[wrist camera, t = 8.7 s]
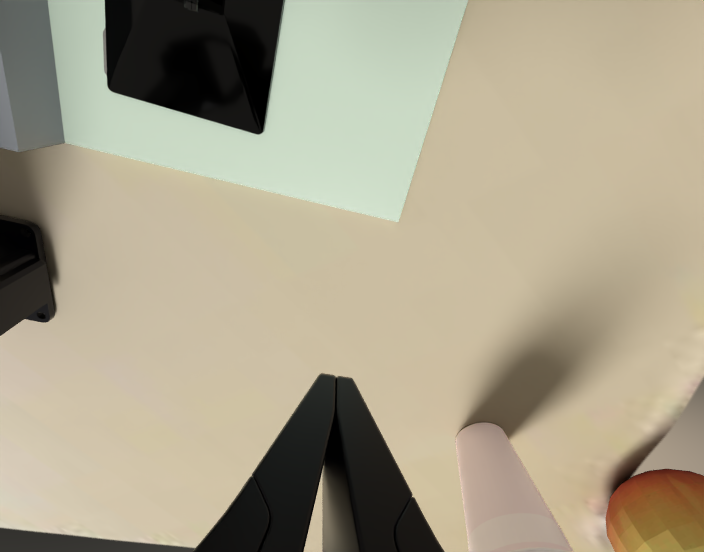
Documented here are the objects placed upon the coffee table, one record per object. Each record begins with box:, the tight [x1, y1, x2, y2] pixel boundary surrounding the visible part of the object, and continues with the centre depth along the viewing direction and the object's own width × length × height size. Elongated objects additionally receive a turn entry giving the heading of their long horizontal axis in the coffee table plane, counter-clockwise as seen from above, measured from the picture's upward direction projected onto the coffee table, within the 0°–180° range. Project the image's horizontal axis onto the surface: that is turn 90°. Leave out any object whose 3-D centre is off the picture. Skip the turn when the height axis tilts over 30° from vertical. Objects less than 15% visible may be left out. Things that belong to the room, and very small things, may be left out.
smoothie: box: [455, 423, 574, 552], centre depth 21 cm, size 6×6×14 cm
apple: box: [606, 469, 704, 552], centre depth 26 cm, size 10×10×8 cm
